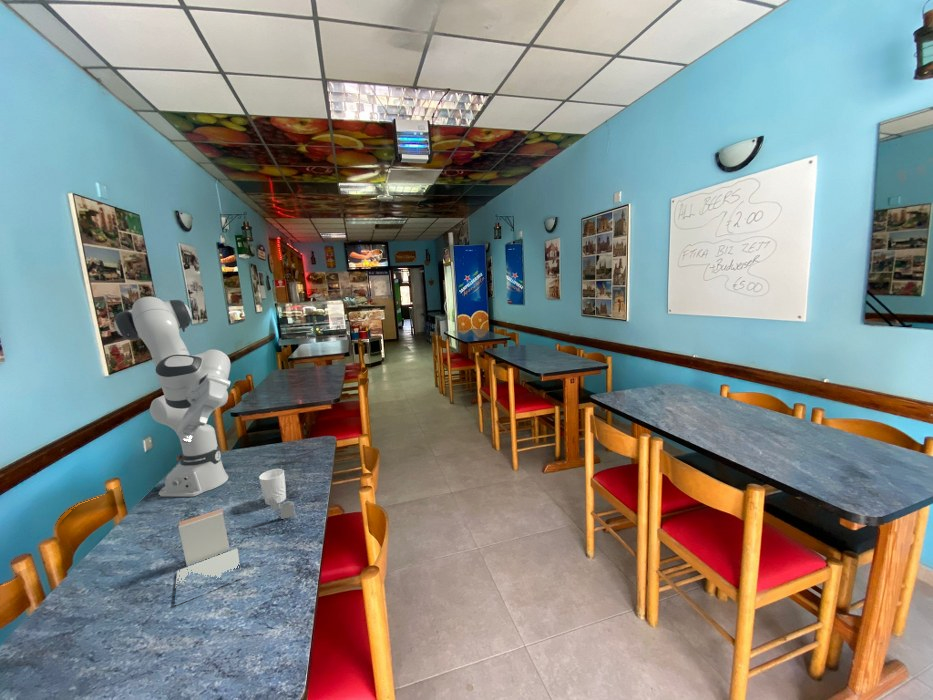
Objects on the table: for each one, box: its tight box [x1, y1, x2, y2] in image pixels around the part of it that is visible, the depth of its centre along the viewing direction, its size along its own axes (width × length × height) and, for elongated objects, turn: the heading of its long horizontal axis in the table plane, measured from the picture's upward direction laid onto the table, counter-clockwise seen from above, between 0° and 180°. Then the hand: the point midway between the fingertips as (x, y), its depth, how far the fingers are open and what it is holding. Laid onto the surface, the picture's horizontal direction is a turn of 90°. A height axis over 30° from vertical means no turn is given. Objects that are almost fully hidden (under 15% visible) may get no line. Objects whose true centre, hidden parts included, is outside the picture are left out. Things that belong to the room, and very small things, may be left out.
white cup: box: [258, 468, 287, 506], centre depth 134 cm, size 8×8×10 cm
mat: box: [175, 548, 241, 587], centre depth 100 cm, size 14×14×1 cm
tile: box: [178, 508, 230, 566], centre depth 107 cm, size 3×10×12 cm, turn 124°
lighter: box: [268, 497, 296, 520], centre depth 123 cm, size 7×2×8 cm, turn 116°
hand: (193, 433), depth 103 cm, fingers open, 8 cm apart
